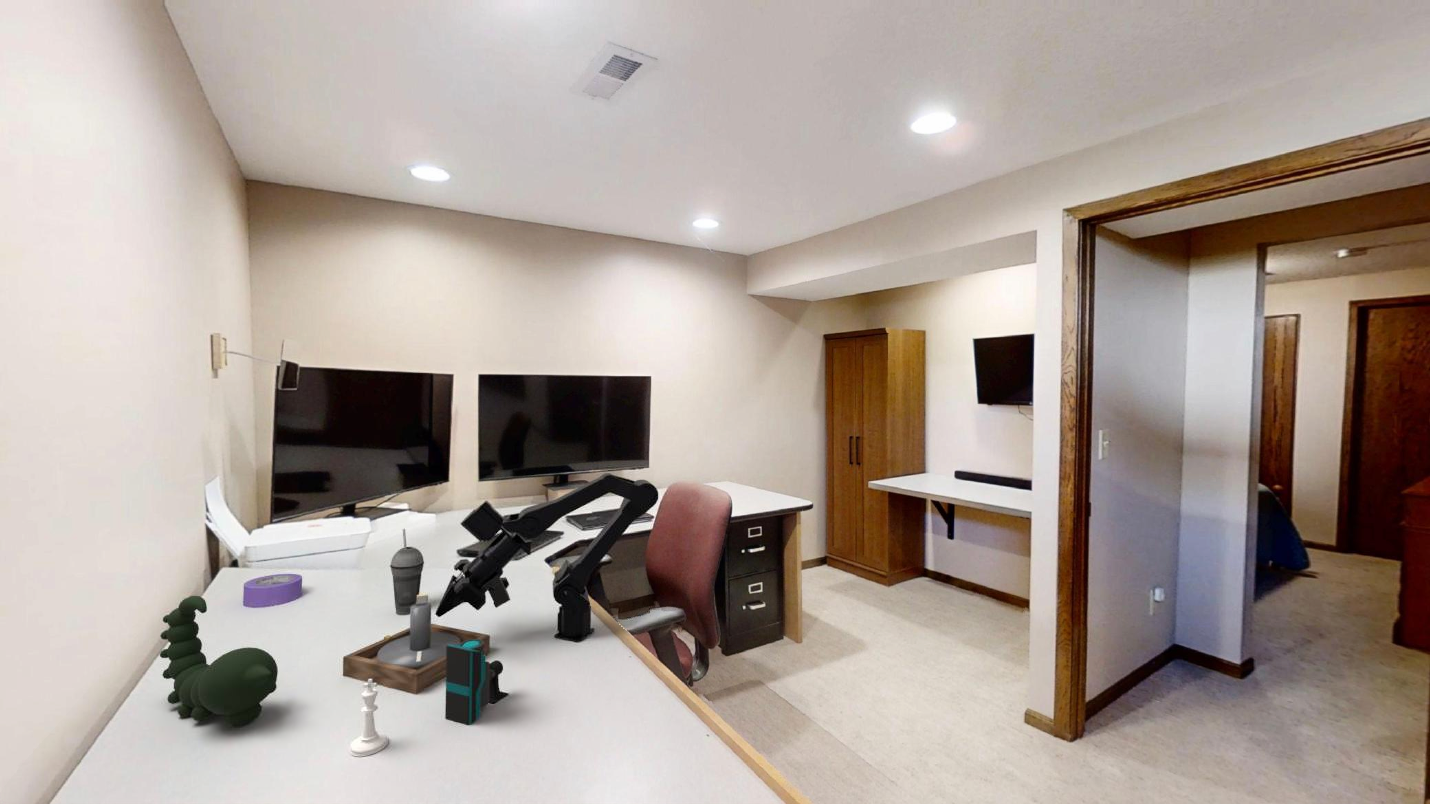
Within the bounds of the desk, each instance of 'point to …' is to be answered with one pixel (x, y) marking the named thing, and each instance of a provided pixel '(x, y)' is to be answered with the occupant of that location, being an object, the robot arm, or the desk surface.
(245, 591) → the tape roll
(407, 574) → the beverage cup
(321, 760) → the desk surface
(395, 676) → the dial base
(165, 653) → the toy figurine
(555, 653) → the desk surface
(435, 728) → the desk surface
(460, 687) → the surveillance camera
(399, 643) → the knob
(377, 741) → the chess piece
